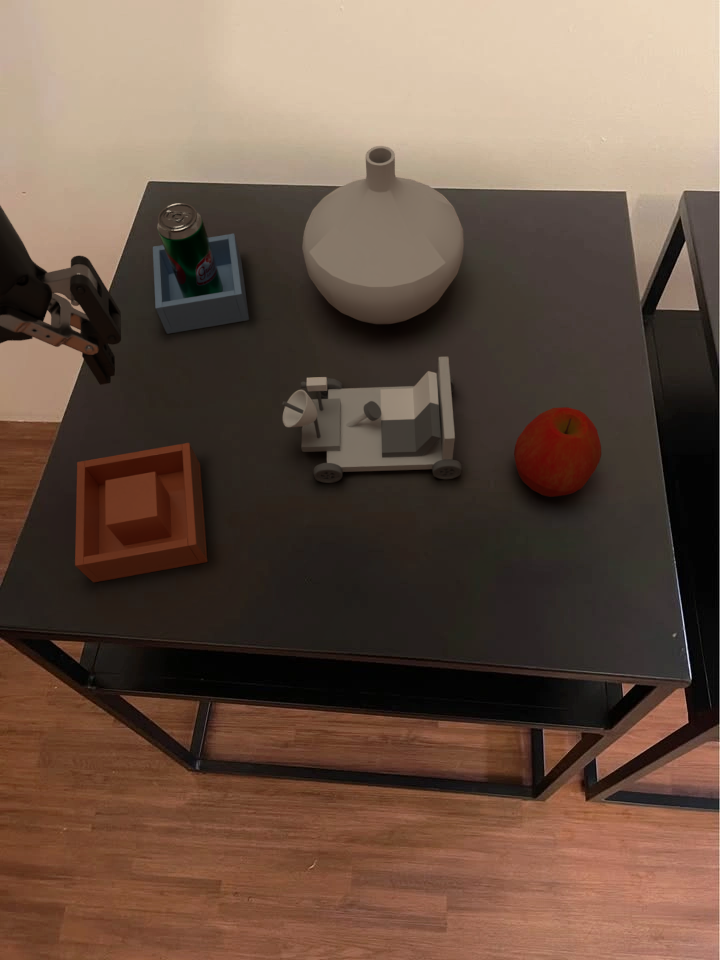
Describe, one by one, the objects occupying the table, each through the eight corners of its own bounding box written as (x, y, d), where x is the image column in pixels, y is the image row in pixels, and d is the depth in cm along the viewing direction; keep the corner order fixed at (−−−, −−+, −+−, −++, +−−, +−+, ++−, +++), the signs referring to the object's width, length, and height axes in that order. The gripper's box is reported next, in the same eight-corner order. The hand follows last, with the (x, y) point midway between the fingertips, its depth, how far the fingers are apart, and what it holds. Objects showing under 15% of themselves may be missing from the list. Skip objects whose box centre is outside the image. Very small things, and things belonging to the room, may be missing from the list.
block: (123, 545, 73) (105, 525, 69) (122, 502, 76) (105, 480, 71) (171, 536, 73) (157, 515, 69) (169, 494, 76) (155, 471, 71)
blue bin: (166, 334, 87) (155, 308, 83) (163, 273, 92) (152, 246, 88) (249, 320, 87) (241, 293, 83) (241, 260, 92) (234, 233, 88)
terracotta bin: (93, 582, 72) (74, 565, 68) (93, 483, 78) (76, 461, 73) (207, 562, 72) (196, 544, 68) (200, 464, 78) (189, 442, 74)
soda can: (213, 312, 87) (187, 236, 77) (176, 304, 88) (146, 227, 78) (230, 282, 90) (207, 205, 79) (193, 274, 91) (166, 196, 80)
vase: (297, 342, 85) (271, 213, 69) (324, 232, 94) (308, 93, 77) (451, 356, 83) (463, 227, 66) (465, 243, 92) (479, 102, 75)
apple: (583, 518, 73) (610, 466, 63) (502, 501, 74) (517, 447, 65) (593, 451, 76) (620, 392, 67) (516, 435, 78) (532, 375, 68)
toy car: (276, 435, 68) (281, 339, 73) (290, 484, 76) (294, 395, 82) (468, 429, 67) (459, 332, 72) (460, 479, 75) (453, 389, 81)
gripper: (53, 147, 42) (142, 331, 56) (-195, 186, 41) (-42, 361, 55) (48, 237, 38) (145, 409, 52) (-223, 281, 38) (-52, 443, 52)
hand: (49, 384), depth 54 cm, fingers open, 8 cm apart
